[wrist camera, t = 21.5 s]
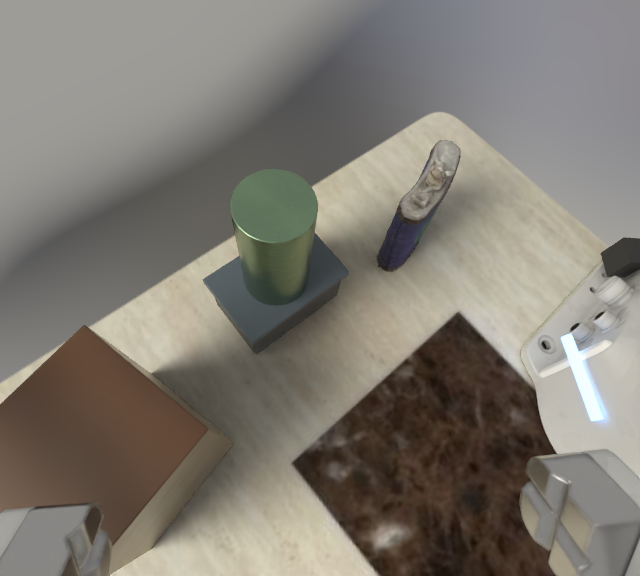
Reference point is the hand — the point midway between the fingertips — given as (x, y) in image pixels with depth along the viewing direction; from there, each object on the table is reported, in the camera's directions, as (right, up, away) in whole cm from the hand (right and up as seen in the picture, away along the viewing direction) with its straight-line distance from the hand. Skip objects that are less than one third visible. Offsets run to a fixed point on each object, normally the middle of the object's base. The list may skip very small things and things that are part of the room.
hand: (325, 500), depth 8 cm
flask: (+8, +9, +34) cm, 37 cm away
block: (-13, -9, +25) cm, 29 cm away
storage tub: (-4, +3, +31) cm, 31 cm away
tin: (-4, +5, +26) cm, 26 cm away
